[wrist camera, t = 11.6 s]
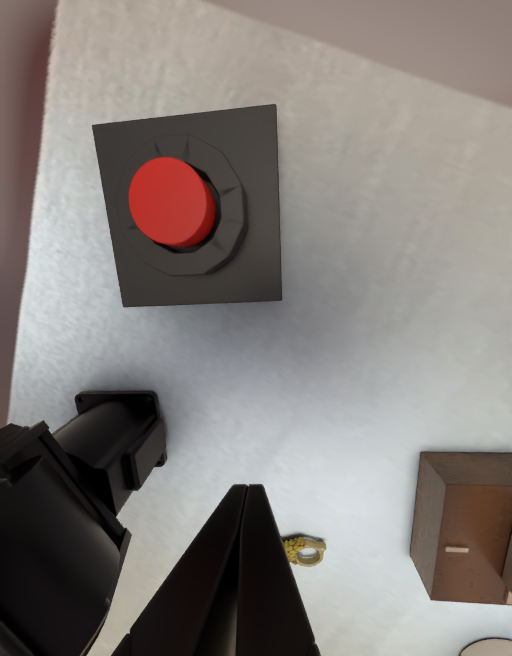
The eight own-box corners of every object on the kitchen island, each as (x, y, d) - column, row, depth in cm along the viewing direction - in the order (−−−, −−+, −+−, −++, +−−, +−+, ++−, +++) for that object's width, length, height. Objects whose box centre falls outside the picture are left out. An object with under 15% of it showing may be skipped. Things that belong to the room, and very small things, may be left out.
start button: (152, 249, 13) (134, 246, 12) (142, 174, 13) (121, 159, 11) (219, 245, 13) (210, 242, 11) (212, 168, 12) (202, 152, 11)
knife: (228, 639, 24) (185, 615, 23) (229, 625, 25) (187, 602, 24) (335, 556, 21) (289, 526, 20) (332, 544, 22) (288, 515, 21)
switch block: (140, 302, 18) (103, 312, 14) (116, 144, 16) (63, 102, 12) (281, 296, 17) (282, 305, 13) (276, 127, 15) (276, 76, 11)
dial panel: (409, 554, 21) (432, 603, 18) (420, 451, 19) (448, 487, 16) (541, 561, 20) (588, 614, 17) (569, 453, 18) (629, 491, 15)
